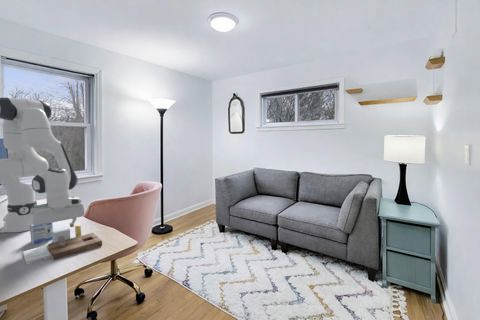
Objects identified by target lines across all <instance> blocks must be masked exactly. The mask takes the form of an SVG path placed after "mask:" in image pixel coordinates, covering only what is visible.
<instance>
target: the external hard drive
mask: <svg viewBox="0 0 480 320" xmlns="http://www.w3.org/2000/svg"><path fill="white" fill-rule="evenodd" d="M22 255H23V258H24V261H25V263H27V265H28V264H31V263H34V262H38V261H42V260H45V259H44V258H46V259H48V258H51V257H52V258H53V256H52V254H51V253H50V251H49V249H48V245H42V246H39V247H35V248H31V249H27V250H24V251H22ZM41 259H42V260H41Z"/></svg>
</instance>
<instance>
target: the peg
mask: <svg viewBox="0 0 480 320" xmlns="http://www.w3.org/2000/svg"><path fill="white" fill-rule="evenodd" d="M81 226H82V225H81V224H76V225H74V230H75V237H79V236H82V229H81V228H82V227H81Z"/></svg>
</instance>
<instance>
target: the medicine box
mask: <svg viewBox="0 0 480 320" xmlns="http://www.w3.org/2000/svg"><path fill="white" fill-rule="evenodd" d="M53 226H54V225H53V223H48V224H47V226H46V227H47V228H50V232H48V233H46V230H45V228H44V227H43V226H42V225H39V226H34V225H33V224H31V225H30V230H29V232H30V233H29V234H30V242H31V243H32V244H34V245H35V244H39V243H42V242H46V241H49V240H52V230H53V229H54V227H53Z"/></svg>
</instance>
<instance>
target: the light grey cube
mask: <svg viewBox="0 0 480 320" xmlns="http://www.w3.org/2000/svg"><path fill="white" fill-rule="evenodd" d="M61 236H65V240H67V239H71V229H70V228H69V227H68V226H61V227H59V228H58V227H57V228H53V230H52V239H51V241H52V243H55V242H58V238H59V237H61Z"/></svg>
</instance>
